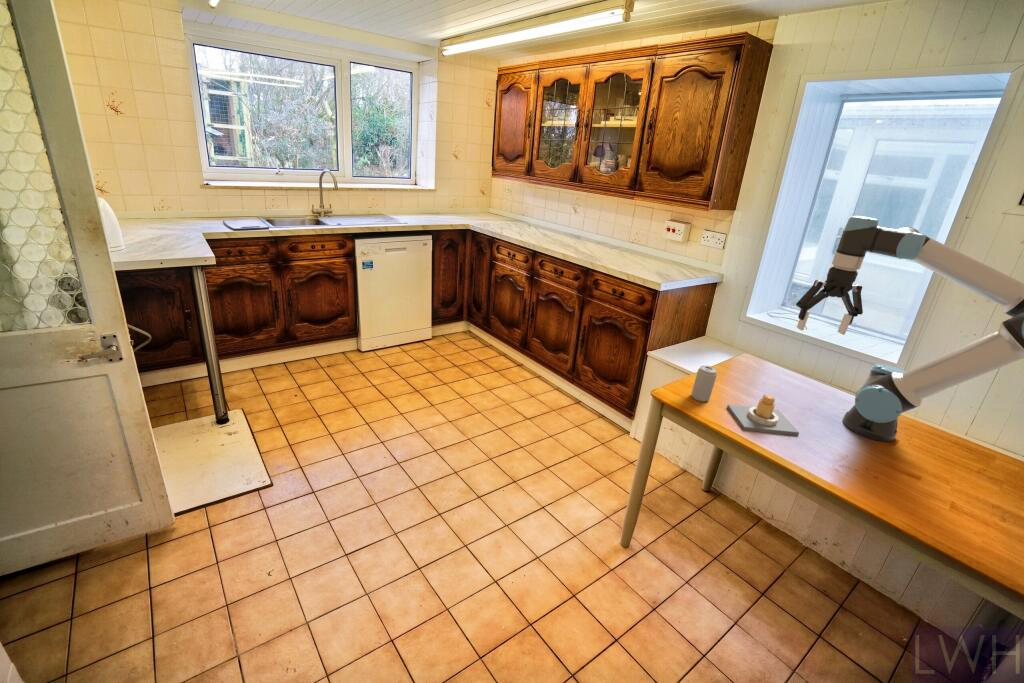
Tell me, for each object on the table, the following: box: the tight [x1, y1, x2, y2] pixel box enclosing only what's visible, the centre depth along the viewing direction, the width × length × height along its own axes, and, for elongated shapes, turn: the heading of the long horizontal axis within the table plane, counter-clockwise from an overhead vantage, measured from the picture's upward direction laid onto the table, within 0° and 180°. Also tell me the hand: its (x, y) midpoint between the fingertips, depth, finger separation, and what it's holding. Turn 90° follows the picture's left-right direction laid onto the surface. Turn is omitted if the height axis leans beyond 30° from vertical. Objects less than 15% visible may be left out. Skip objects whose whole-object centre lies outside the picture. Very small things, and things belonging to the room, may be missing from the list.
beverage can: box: [691, 365, 718, 403], centre depth 170 cm, size 6×6×12 cm
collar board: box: [726, 404, 800, 436], centre depth 161 cm, size 18×14×3 cm
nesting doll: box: [755, 394, 776, 419], centre depth 159 cm, size 5×5×8 cm
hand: (820, 331), depth 156 cm, fingers open, 13 cm apart
